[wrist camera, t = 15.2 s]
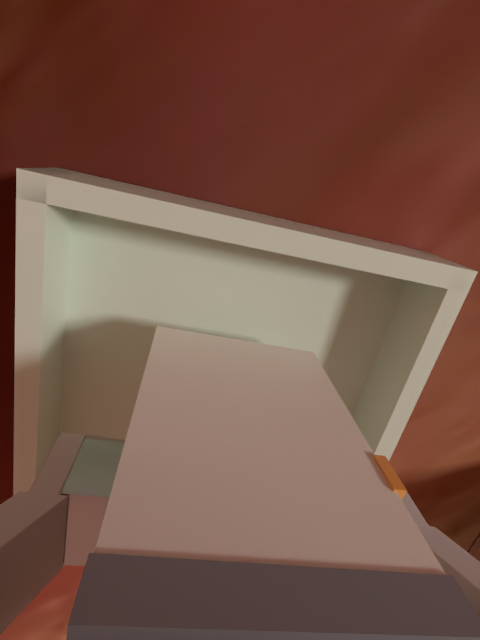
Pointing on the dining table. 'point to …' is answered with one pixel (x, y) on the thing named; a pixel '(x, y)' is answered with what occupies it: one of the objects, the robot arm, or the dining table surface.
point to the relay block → (257, 513)
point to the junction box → (476, 549)
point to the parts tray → (206, 304)
